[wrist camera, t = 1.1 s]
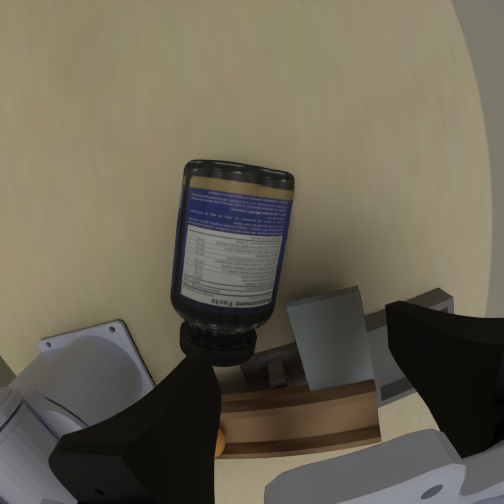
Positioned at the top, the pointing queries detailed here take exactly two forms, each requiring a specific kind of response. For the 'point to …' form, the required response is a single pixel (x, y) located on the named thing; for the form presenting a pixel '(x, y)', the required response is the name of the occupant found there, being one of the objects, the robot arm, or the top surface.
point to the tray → (384, 366)
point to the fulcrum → (275, 369)
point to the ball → (220, 443)
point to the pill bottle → (228, 255)
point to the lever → (311, 388)
